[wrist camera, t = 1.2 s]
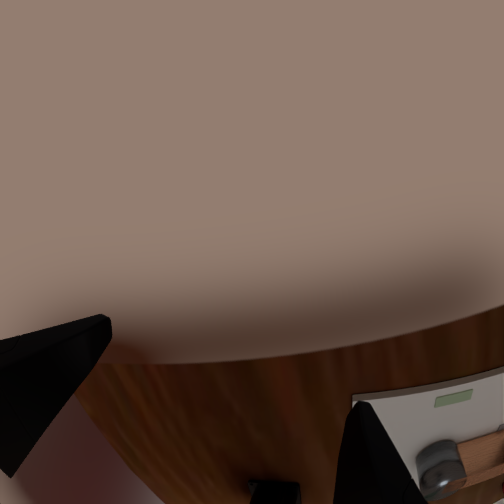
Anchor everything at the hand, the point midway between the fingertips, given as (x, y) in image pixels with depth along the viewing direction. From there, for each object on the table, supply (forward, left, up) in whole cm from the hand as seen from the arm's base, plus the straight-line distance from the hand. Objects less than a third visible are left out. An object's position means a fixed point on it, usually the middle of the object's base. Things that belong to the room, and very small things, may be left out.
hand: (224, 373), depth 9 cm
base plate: (-22, -15, -14) cm, 30 cm away
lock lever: (-22, -18, -13) cm, 32 cm away
